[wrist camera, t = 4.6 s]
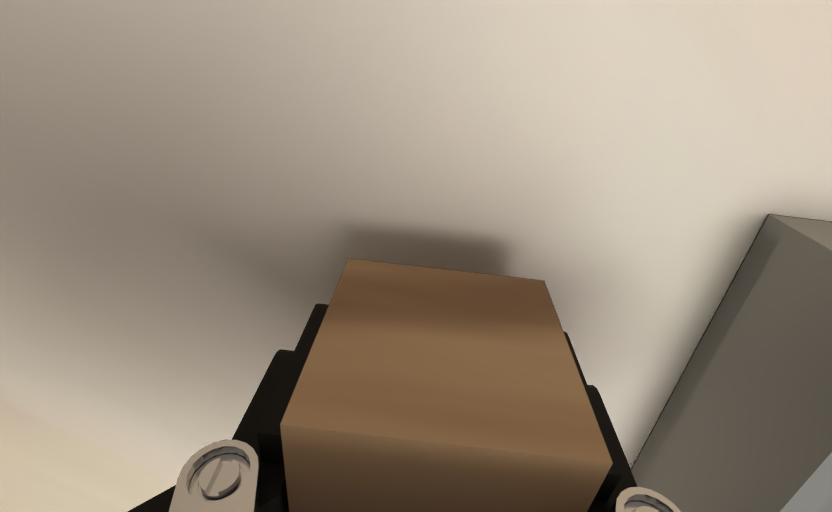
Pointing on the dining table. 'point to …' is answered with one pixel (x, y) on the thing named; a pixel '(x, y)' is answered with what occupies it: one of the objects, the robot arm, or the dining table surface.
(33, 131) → the dining table surface
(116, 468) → the dining table surface
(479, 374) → the walnut block
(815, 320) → the tote
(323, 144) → the dining table surface
